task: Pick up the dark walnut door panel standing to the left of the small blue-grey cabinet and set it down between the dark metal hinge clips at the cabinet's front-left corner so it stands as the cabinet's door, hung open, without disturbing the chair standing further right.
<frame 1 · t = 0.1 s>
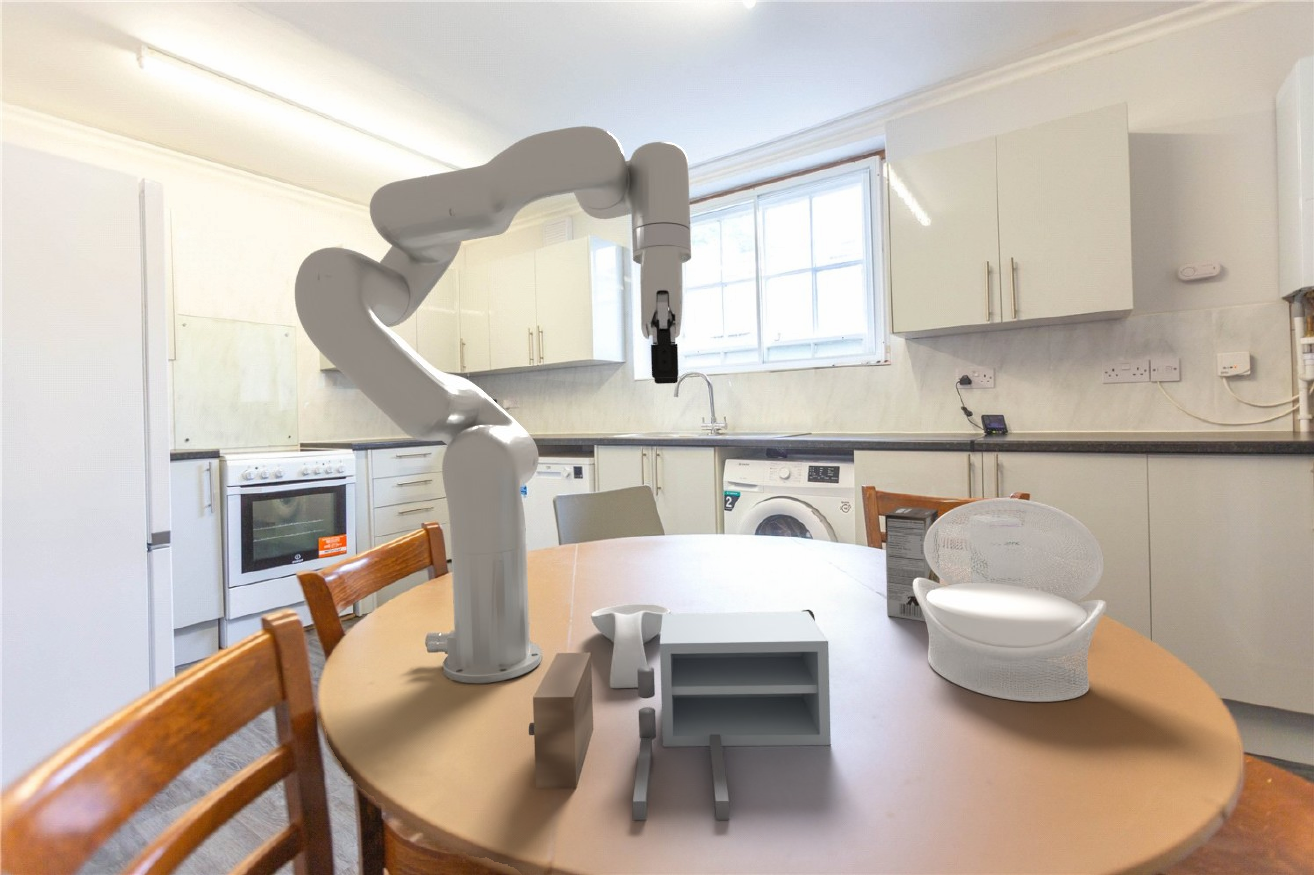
hand: (665, 380, 77), 37 cm above the table, tool pointing down, fingers open, 9 cm apart
coffee box: (914, 612, 95), on the table
syrup box: (996, 607, 97), on the table
spoon rest: (631, 654, 82), on the table
cabinet: (741, 722, 62), on the table
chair: (1005, 672, 72), on the table
hand tool: (798, 663, 77), on the table
door: (567, 757, 56), on the table
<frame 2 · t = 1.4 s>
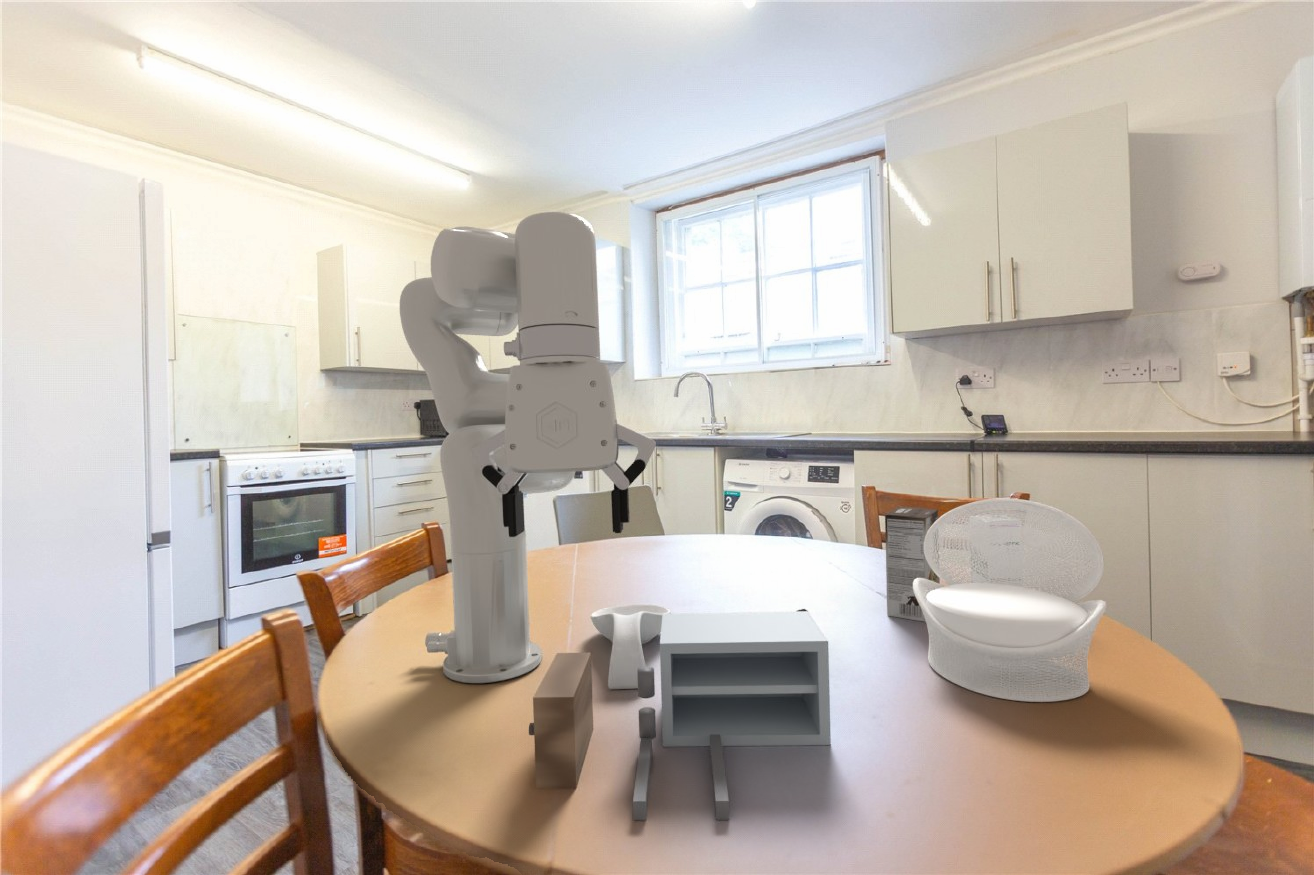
hand: (567, 532, 56), 21 cm above the table, tool pointing down, fingers open, 9 cm apart
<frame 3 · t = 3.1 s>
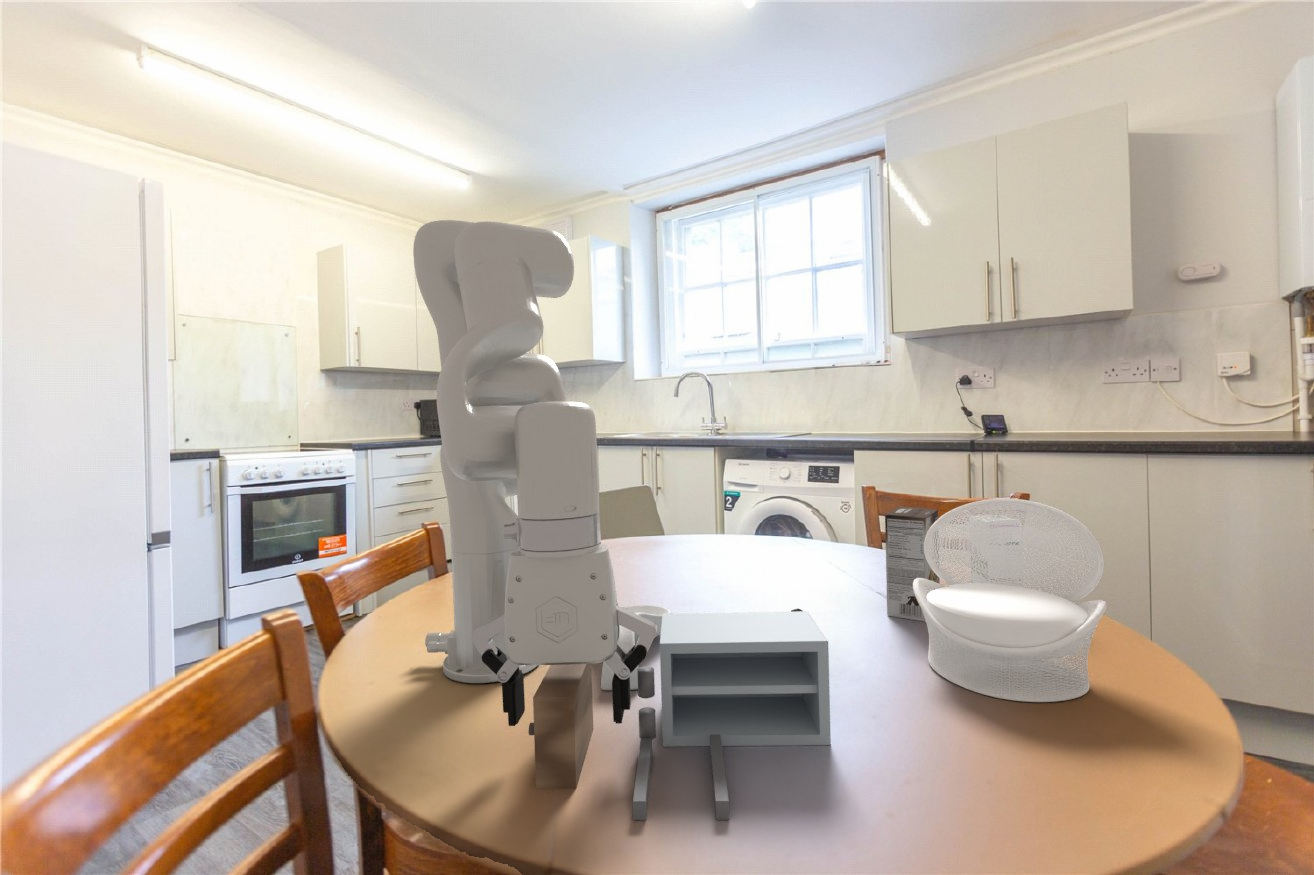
hand: (568, 717, 56), 4 cm above the table, tool pointing down, fingers open, 9 cm apart
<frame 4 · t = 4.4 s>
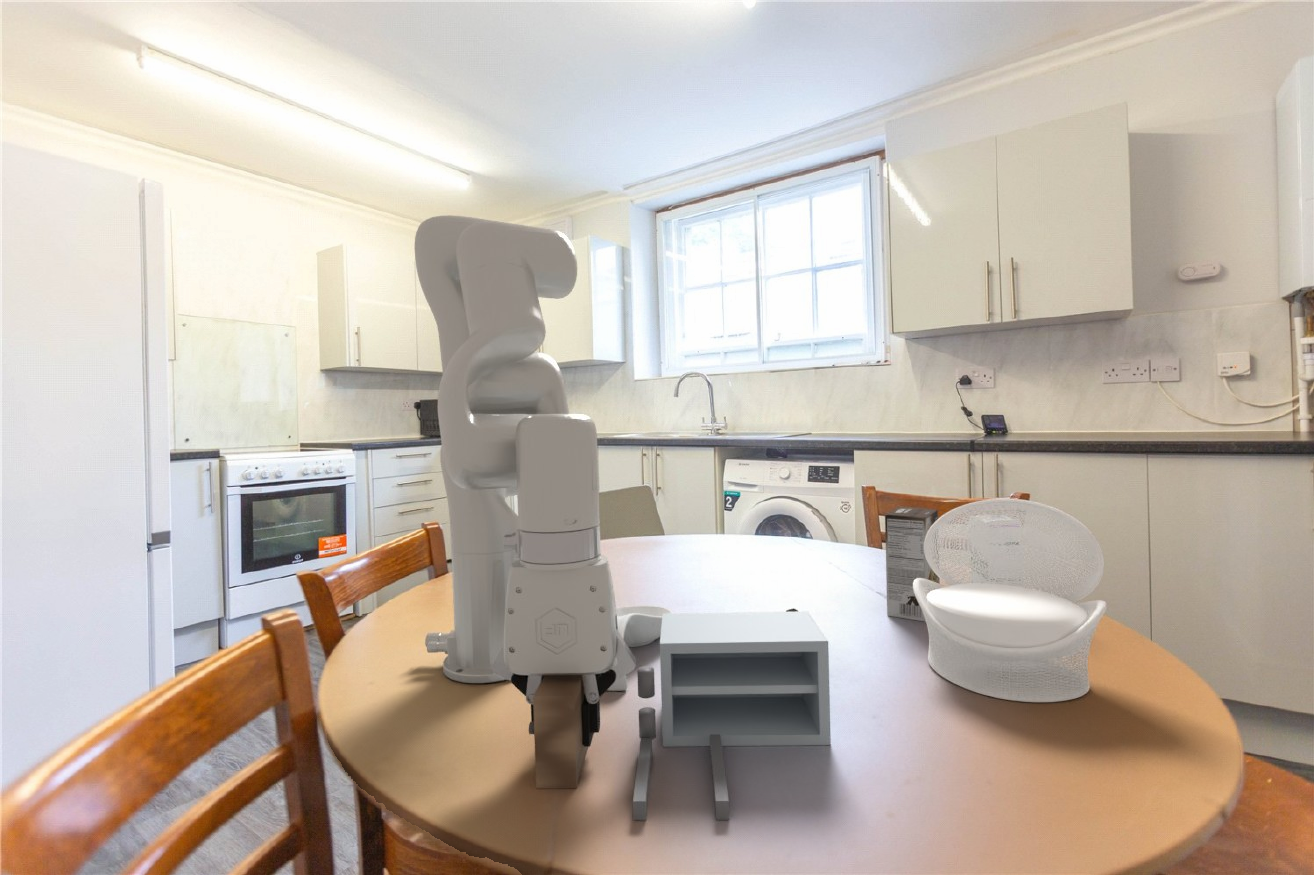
hand: (566, 737, 56), 2 cm above the table, tool pointing down, fingers closed on door, 3 cm apart
door: (567, 756, 56), on the table, touching gripper
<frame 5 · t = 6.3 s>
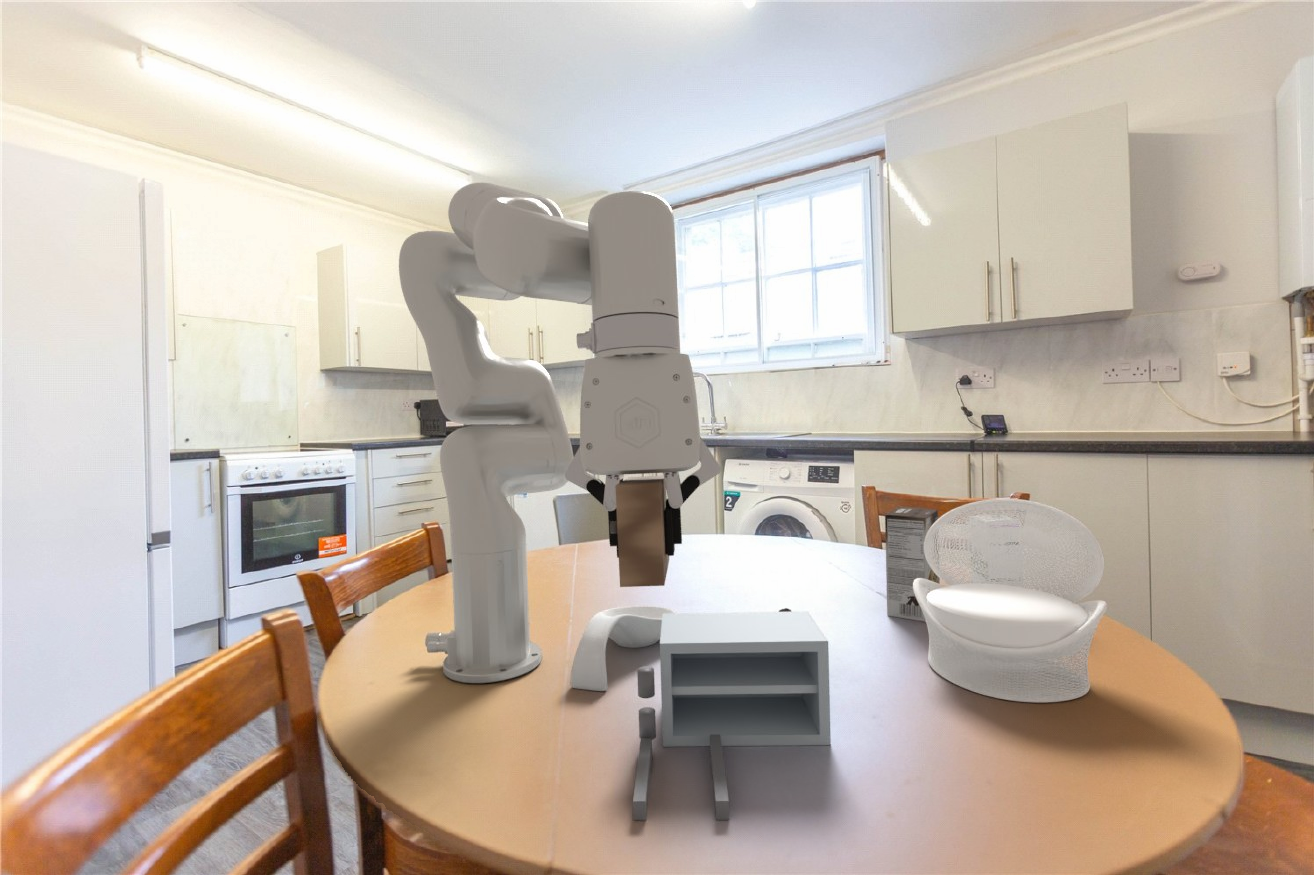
hand: (646, 551, 52), 20 cm above the table, tool pointing down, fingers closed on door, 3 cm apart
door: (647, 571, 52), point 18 cm above the table, touching gripper
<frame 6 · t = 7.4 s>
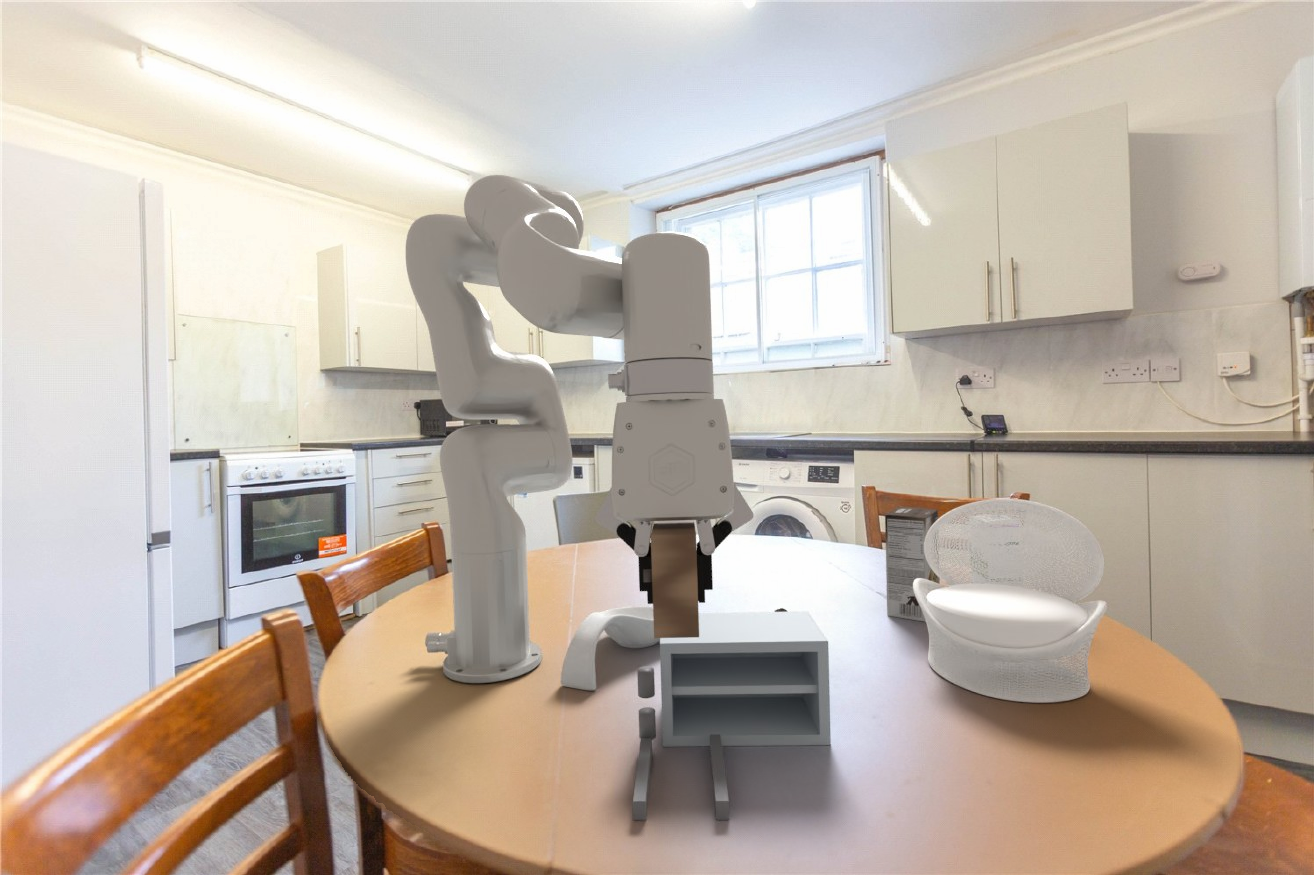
hand: (676, 596, 51), 16 cm above the table, tool pointing down, fingers closed on door, 3 cm apart
door: (677, 617, 51), point 14 cm above the table, touching gripper
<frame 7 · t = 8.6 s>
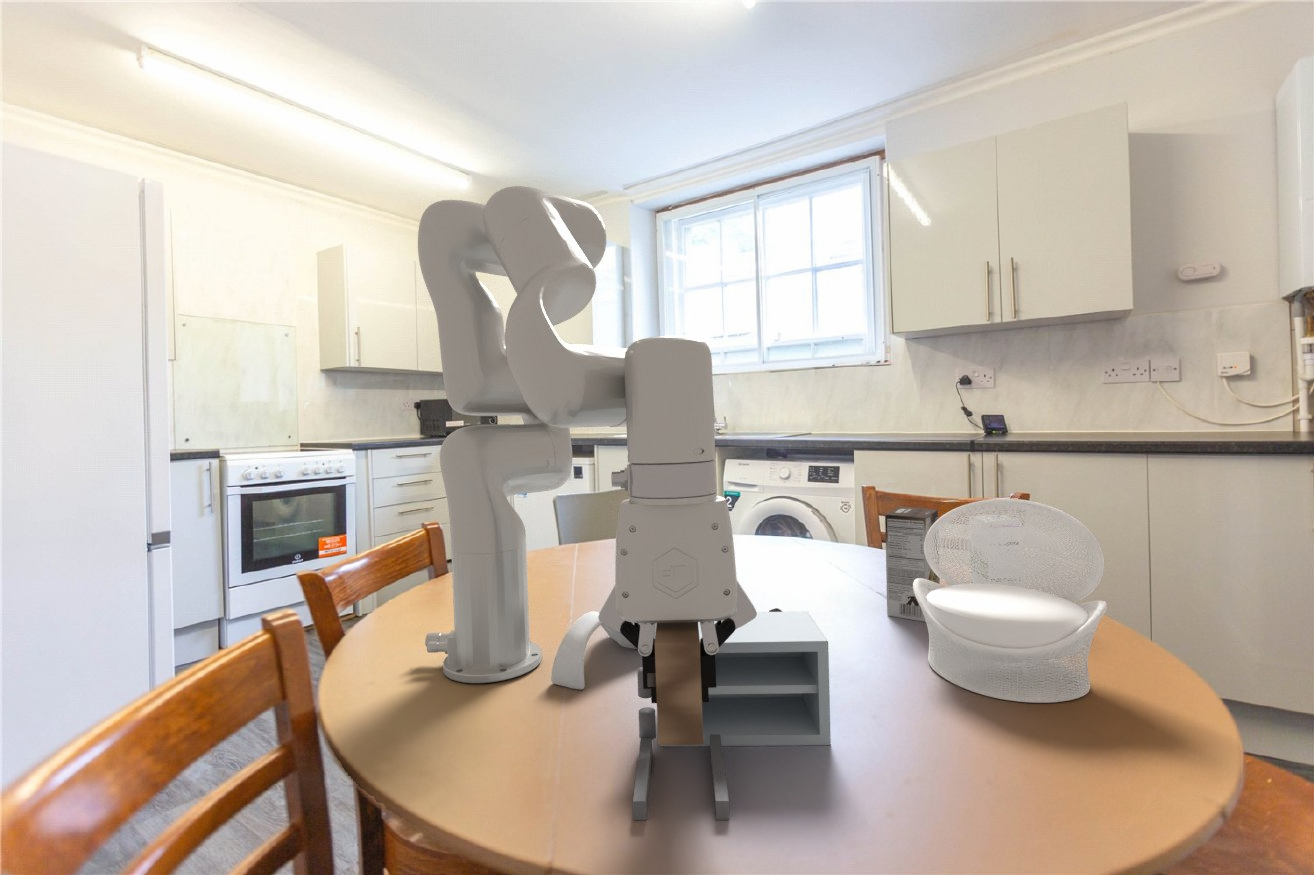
hand: (680, 693, 51), 8 cm above the table, tool pointing down, fingers closed on door, 3 cm apart
door: (680, 714, 51), point 6 cm above the table, touching gripper
when the fingers open (3 cm above the table, at t = 10.3 s): door stays where it is, resting in cabinet.
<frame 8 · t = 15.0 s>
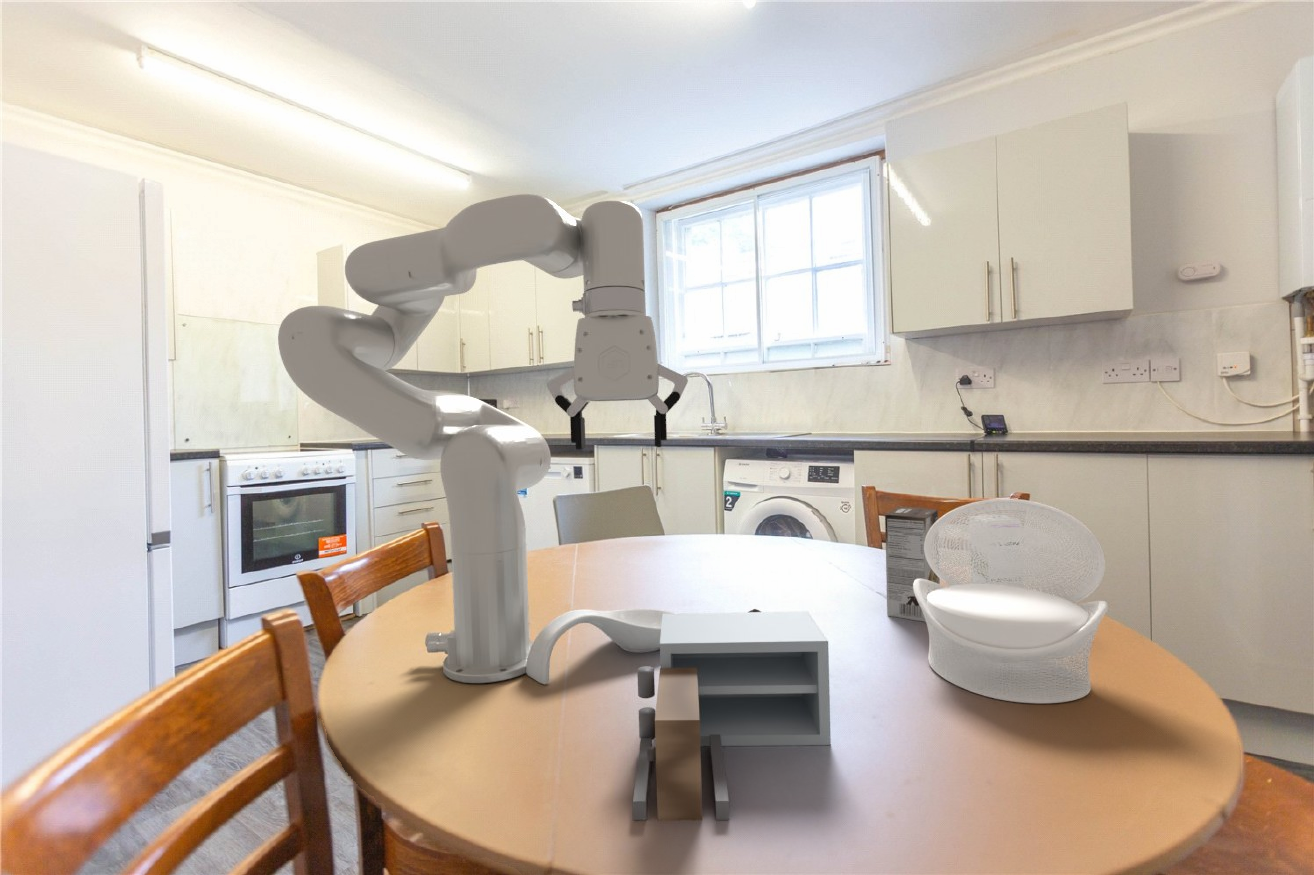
hand: (619, 447, 74), 28 cm above the table, tool pointing down, fingers open, 9 cm apart
spoon rest: (612, 658, 81), on the table
hand tool: (769, 664, 77), on the table
door: (680, 782, 52), resting in cabinet
everything else where it was.
at the end: door 0.0 cm from the target spot on the cabinet, point 0.0 cm above the cabinet's base; door tilted 0°; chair moved 0.5 cm from its start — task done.
